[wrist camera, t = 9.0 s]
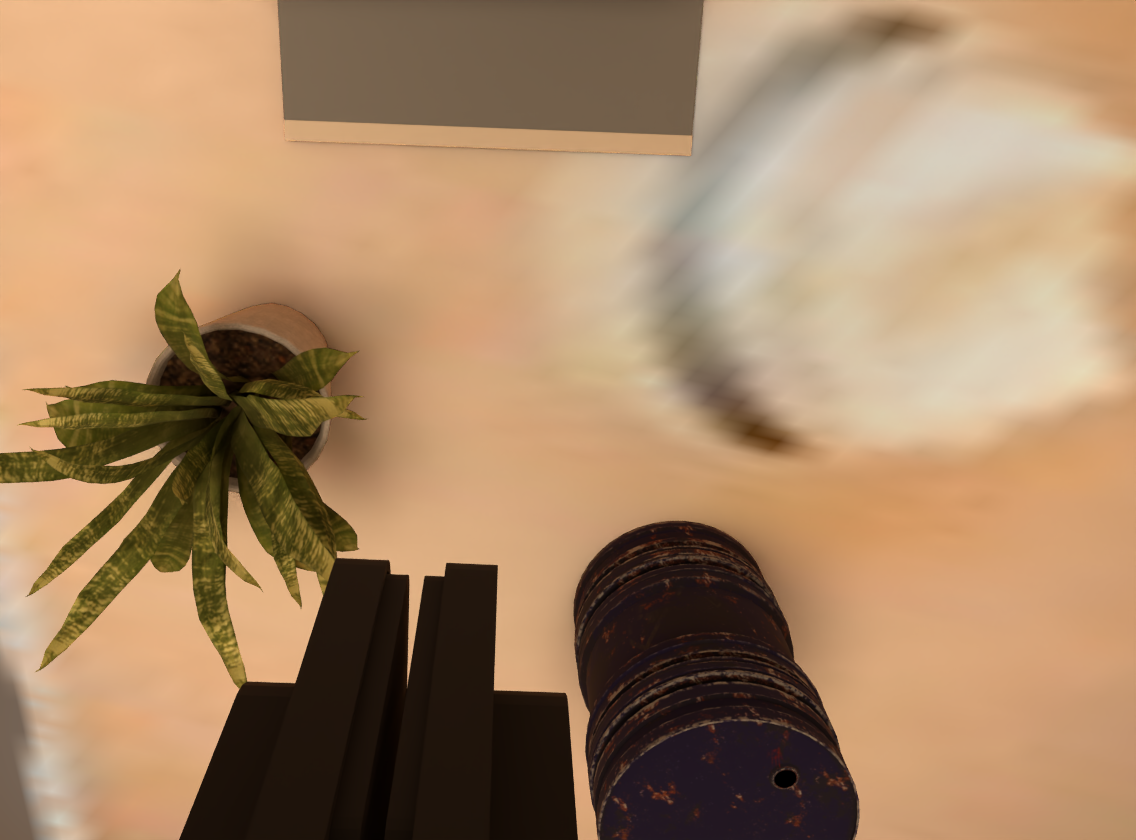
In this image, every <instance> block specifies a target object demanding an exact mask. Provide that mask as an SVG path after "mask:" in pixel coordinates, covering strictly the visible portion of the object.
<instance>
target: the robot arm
mask: <svg viewBox="0 0 1136 840" xmlns="http://www.w3.org/2000/svg"><path fill="white" fill-rule="evenodd" d="M497 573H498V565H481V564H459V563H446V569H445V577H441V576H425V578H424V584H423V590H422V597H421V603H420V609H419V616H418V622H417V629H416V635H415V641H414V648H413V654H412V661H411V667H410V673H409V680H408V686H407V665H408V622H409V575H395V574H390V562H389V560H368V559H345V558H337V559H335V561H334V564H333V567H332V570H331V573H330V576H329V580H328V583H327V586H326V589H325V592H324V595H323V598H322V601H321V605H320V608H319V611H318V614H317V617H316V620H315V623H314V627H313V630H312V633H311V636H310V639H309V642H308V645H307V649H306V652H305V655H304V658H303V661H302V664H301V667H300V671H299V674H298V677H297V680H296V683H270V682H245V683H244V684H243V685H242V686H241V688H240V690H239V691H238V693H237V695H236V698H235V700H234V703H233V705H232V708H231V711H230V713H229V716H228V718H227V721H226V723H225V726H224V728H223V731H222V733H221V736H220V738H219V741H218V743H217V746H216V748H215V751H214V753H213V756H212V758H211V761H210V763H209V766H208V768H207V771H206V774H205V776H204V779H203V781H202V784H201V786H200V789H199V791H198V794H197V796H196V799H195V801H194V804H193V806H192V809H191V811H190V814H189V816H188V819H187V821H186V824H185V826H184V829H183V831H182V834H181V836H180V839H179V840H578V835H577V821H576V808H575V794H574V780H573V766H572V752H571V739H570V725H569V711H568V701H567V695H566V693H551V692H523V691H495V690H494V666H495V635H496V604H497Z"/></svg>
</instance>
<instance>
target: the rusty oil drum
mask: <svg viewBox="0 0 1136 840" xmlns="http://www.w3.org/2000/svg"><path fill="white" fill-rule="evenodd" d="M574 622H575V644H574V645H575V654H576V662H577V669H578V677H579V685H580V689H581V692H582V695H583V698H584V701H585V704H586V707H587V709H588V710H589V712H590V718H589V722H588V727H587V734H586V748H585V753H586V760H587V766H588V777H589V787H590V794H591V800H592V805H593V808H594V811H595V815H596V826H597V835H598V840H855V837H856V834H857V829H858V823H859V799H858V795H857V791H856V786H855V784H854V781H853V779H852V777H851V775H850V772H849V770H848V768H847V766H846V764H845V762H844V759H843V757H842V754H841V752H840V747H839V743H838V739H837V736H836V734H835V731H834V729H833V727H832V725H831V722H830V720H829V718H828V716H827V714H826V711H825V709H824V707H823V704H822V701H821V699H820V696H819V694H818V692H817V690H816V688H815V686H814V685H813V684H812V682H811V681H810V679H809V678H808V677H807V675H806V674H805V673H804V672H803V670H802V669H801V668H800V667H799V666H798V665H797V664H796V663H795V661H794V654H793V645H792V641H791V637H790V632H789V628H788V624H787V622H786V620H785V618H784V615H783V613H782V611H781V610H780V608H779V606H778V603H777V601H776V599H775V597H774V595H773V592H772V590H771V589H770V587H769V586H768V584H767V583H766V582H765V580H764V578H763V576H762V573H761V571H760V569H759V567H758V565H757V563H756V561H755V560H754V559H753V557H752V556H751V554H750V553H749V552H748V551H747V550H746V549H745V548H744V547H743V546H742V545H741V544H740V543H739V542H738V541H737V540H735V539H734V538H732V537H731V536H729V535H728V534H726V533H724V532H722V531H720V530H718V529H716V528H713V527H710V526H707V525H703V524H700V523H694V522H687V521H666V522H659V523H653V524H649V525H646V526H642V527H639V528H636V529H634V530H632V531H629V532H627V533H625V534H623V535H621V536H620V537H618V538H617V539H615V540H613V541H612V542H610V543H609V544H608V545H607V546H606V547H605V548H603V549H602V550H601V551H600V552H599V553H598V554H597V555H596V556H595V558H594V559H593V560H592V561H591V562H590V563H589V565H588V567H587V568H586V570H585V571H584V573H583V575H582V577H581V579H580V582H579V584H578V587H577V590H576V595H575V599H574Z"/></svg>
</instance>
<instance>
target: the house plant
mask: <svg viewBox="0 0 1136 840" xmlns="http://www.w3.org/2000/svg"><path fill="white" fill-rule="evenodd" d="M179 274H180V270H179V271H178V273H177V274H176V276H175V277H174V278H173V279H172V280H171V281H170V282H169V283H168V284H167V285H166V286H165V287H164V288H163V290H162V291H161V292H160V293H159V294H158V295H157V299H156V304H155V317H156V322H157V325H158V327H159V330H160V332H161V334H162V335H163V337H164V339H165V340H166V342H167V343H168V346H167V347H166V348H165V350H164V351H163V352H162V353H161V354H160V355H159V356H158V358H157V359H156V360H155V363H154V365H153V367H152V369H151V372H150V374H149V376H148V378H147V383H146V384H141V383H134V382H127V381H114V380H111V381H103V382H97V383H93V384H90V385H86V386H80V387H74V388H70V387H67V386H66V388H36V389H24V390H30V391H34V392H37V393H40V394H43V395H49V396H58V397H66V398H69V400H64V401H61V402H59V403H56V404H51V405H47V403H46V405H47V410H48V414H49V416H50V418H48V419H43V420H38V421H33V422H26V423H22V424H19V425H28V426H34V427H54V430H55V433H56V435H57V438H58V440H59V441H60V442H61V443H62V444H63V445H64V446H65V447H66V448H62V449H54V450H44V451H36V450H33V449H32V448H31V450H32V451H33V452H16V453H0V483H20V482H41V481H54V480H61V479H67V478H72V479H75V480H79V481H83V482H87V483H99V484H107V483H117V482H121V481H125V480H129V479H132V478H134V477H135V478H134V479H133V480H132V481H131V482H130V484H129V485H128V486H127V487H126V489H125V490H124V491H123V492H122V493H121V494H120V495H119V496H118V497H117V498H116V499H115V500H114V501H113V502H112V503H111V504H109V505H108V506H107V507H106V508H105V509H104V510H103V511H102V512H101V513H100V514H99V515H98V516H97V517H95V518H94V519H93V520H92V521H91V522H90V523H89V524H88V525H86V526H85V527H84V528H83V529H82V530H81V531H80V532H79V533H78V534H76V535H75V536H74V537H73V538H72V539H71V540H70V541H69V542H68V543H67V544H65V545H64V546H63V547H62V549H61V550H60V551H59V553H58V554H57V556H56V557H55V558H54V560H53V561H52V562H51V564H50V565H49V567H48V568H47V570H46V571H45V572H44V573H43V574H42V575H41V576H40V577H39V578H38V579H37V580H36V582H35V583H34V584H33V587H32V589H31V591H30V593H29V595H31V594H33V593H35V592H36V591H38V590H39V589H41V588H42V587H44V586H45V585H47V584H48V583H50V582H51V581H52V580H53V579H55V578H56V577H57V576H58V575H60V574H61V573H62V572H64V571H65V570H66V569H67V568H68V567H69V566H71V565H72V564H73V563H74V562H75V561H76V560H77V559H79V558H80V557H81V556H82V555H83V554H84V553H85V552H86V551H87V550H88V549H89V548H90V547H91V546H92V545H94V544H95V543H96V542H97V541H98V540H99V539H100V538H101V537H103V536H104V535H105V534H106V533H107V532H108V531H109V530H110V529H111V528H112V527H114V526H115V525H116V524H117V523H118V522H119V521H120V520H121V519H122V517H123V516H124V515H125V514H126V513H127V511H128V510H129V509H130V508H131V507H132V505H133V504H134V503H135V502H136V501H137V500H138V499H139V497H140V496H141V495H142V494H143V493H144V492H145V491H146V490H147V489H148V488H149V486H150V485H151V484H152V483H153V482H154V481H155V480H156V478H157V477H158V476H159V475H160V474H161V473H162V472H163V470H164V469H165V468H166V467H167V466H168V464H169V463H170V462H172V463H173V464H174V465H175V466H177V467H176V468H175V470H174V471H173V472H172V473H171V475H170V476H169V478H168V479H167V481H166V482H165V484H164V485H163V487H162V488H161V490H160V491H159V493H158V494H157V496H156V498H155V500H154V501H153V503H152V505H151V507H150V508H149V510H148V512H147V514H146V515H145V516H144V517H143V519H142V520H141V521H140V522H139V524H138V525H137V526H136V527H135V528H134V529H133V530H132V532H131V533H130V534H129V535H128V536H127V537H126V538H125V539H124V540H123V542H122V543H121V545H120V547H119V548H118V549H117V551H116V552H115V553H114V554H113V555H112V556H111V557H110V559H109V560H108V561H107V562H106V563H105V564H104V565H103V567H102V568H101V569H100V570H99V571H98V572H97V573H96V575H95V576H94V577H93V578H92V579H91V580H90V582H89V583H88V584H87V585H86V586H85V587H84V589H83V590H82V591H81V592H80V593H79V595H78V597H77V599H76V601H75V603H74V605H73V606H72V608H71V610H70V612H69V614H68V616H67V618H66V620H65V622H64V624H63V626H62V628H61V630H60V631H59V632H58V634H57V635H56V636H55V638H54V639H53V640H52V642H51V643H50V645H49V646H48V648H47V649H46V651H45V654H44V657H43V661H42V664H41V666H40V669H39V670H41V669H43V668H44V667H46V666H47V665H48V664H49V663H50V662H51V661H53V660H54V659H55V658H56V657H57V656H58V655H60V654H61V653H62V652H63V651H65V650H66V649H67V648H68V647H69V646H70V645H71V644H72V643H73V642H74V641H75V640H76V639H77V638H78V637H79V636H80V635H81V634H82V633H83V632H84V631H85V630H86V629H87V628H88V627H89V626H90V625H91V624H92V623H93V622H94V621H95V619H96V618H97V617H98V616H99V615H100V614H101V613H102V612H103V611H104V610H105V608H106V607H107V606H108V605H109V604H110V603H111V602H112V601H113V599H114V598H115V597H116V596H117V595H118V594H119V593H120V592H121V590H122V589H123V588H124V587H125V586H126V585H127V584H128V583H129V582H130V581H131V580H132V579H133V578H134V577H135V576H136V575H137V574H138V573H139V571H140V570H141V569H142V568H143V567H144V566H145V564H146V563H147V562H148V561H149V560H151V562H152V564H153V565H154V567H155V568H156V569H157V570H158V571H160V572H164V573H165V572H174V571H180V570H181V569H182V568H183V567H184V566H185V565H186V563H187V562H188V560H189V557H190V554H191V550H192V576H193V591H194V596H195V601H196V606H197V611H198V616H199V620H200V621H201V623H202V625H203V627H204V629H205V631H206V632H207V634H208V636H209V638H210V640H211V641H212V643H213V645H214V646H215V648H216V649H217V651H218V652H219V654H220V655H221V657H222V659H223V662H224V664H225V666H226V668H227V670H228V672H229V674H230V676H231V678H232V680H233V682H234V683H235V684H236V686H237V687H238V688H239V689H240V688H241V686H242V685H243V684H244V683H245V682H247V678H246V673H245V668H244V665H243V661H242V658H241V655H240V652H239V648H238V644H237V640H236V636H235V633H234V629H233V625H232V622H231V618H230V614H229V610H228V605H227V600H226V588H225V577H226V566H228V567H229V568H230V569H231V570H232V571H233V572H234V573H235V574H236V575H237V576H239V577H240V578H241V579H242V580H244V581H245V582H248V583H250V584H252V585H255V586H257V587H259V588H260V589H261V587H260V586H259V584H258V583H257V582H256V580H255V579H254V578H253V577H252V576H251V575H250V574H249V573H248V572H247V570H246V569H245V568H244V567H243V566H242V564H241V563H240V562H239V561H238V560H237V558H236V557H235V556H234V555H233V554H232V553H231V552H230V551H229V549H228V548H227V516H228V491H232V492H237V493H239V494H240V497H241V500H242V503H243V507H244V510H245V513H246V515H247V517H248V520H249V522H250V524H251V527H252V529H253V531H254V533H255V535H256V537H257V539H258V541H259V542H260V544H261V545H262V546H263V548H264V549H265V551H266V552H267V553H269V554H270V555H271V556H273V557H274V560H275V562H276V564H277V567H278V569H279V571H280V573H281V575H282V576H283V578H284V580H285V582H286V585H287V588H288V590H289V592H290V594H291V596H292V597H293V598H294V599H295V600H296V602H297V603H298V604H299V605H300V606H301V607H302V603H301V597H300V591H299V584H298V579H297V573H296V568H300V569H304V570H307V571H314V572H316V573H317V577H318V580H319V583H320V587H321V590H322V593H323V595H324V592H325V589H326V586H327V583H328V580H329V576H330V573H331V570H332V567H333V564H334V561H335V559H337V552H336V551H341V552H344V551H355V550H358V549H359V548H357V535H356V533H355V531H354V530H353V528H352V527H351V526H350V525H349V524H348V523H347V522H346V520H344V519H343V518H342V517H341V516H340V515H339V514H337V513H336V512H335V511H334V510H332V509H331V508H330V507H328V506H327V505H326V504H325V503H324V502H322V499H321V497H320V495H319V493H318V491H317V489H316V487H315V485H314V483H313V481H312V479H311V477H310V476H309V474H308V472H307V469H308V468H309V467H310V466H311V465H312V464H313V463H314V462H315V461H316V460H317V459H318V457H319V455H320V453H321V451H322V449H323V447H324V446H325V444H326V442H327V439H328V434H329V429H330V423H331V419H332V418H334V417H342V418H350V419H357V420H365V419H364V418H362V417H361V416H359V415H358V414H356V413H355V412H353V411H351V410H348V409H346V408H347V406H348V405H349V404H350V402H351V401H352V400H353V399H354V398H355V397H363V396H355V395H342V396H334V397H331V380H332V379H333V378H334V376H335V375H336V374H337V372H338V371H339V370H340V369H341V367H342V366H343V365H344V364H345V363H346V362H347V361H348V360H349V358H350V357H352V356H353V355H355V354H356V353H357V352H359V351H356V352H350V353H346V352H342V351H338V350H334V349H330V348H328V346H327V344H326V341H325V338H324V336H323V335H322V334H321V332H320V331H319V329H318V328H317V327H316V325H315V324H314V323H313V322H312V321H310V320H309V319H308V318H307V317H306V316H304V315H303V314H302V313H300V312H298V311H296V310H294V309H292V308H290V307H287V306H283V305H278V304H274V303H270V304H262V305H256V306H252V307H249V308H246V309H242V310H240V311H237V312H235V313H232V314H230V315H227V316H225V317H222V318H220V319H217V320H215V321H212V322H210V323H207V324H205V325H202V326H200V327H198V325H197V322H196V320H195V318H194V316H193V314H192V312H191V309H190V308H189V306H188V304H187V302H186V300H185V299H184V297H183V294H182V291H181V287H180V284H179V280H178V278H179ZM157 445H158V446H159V447H160V448H161V450H160V451H159V452H158V453H157V454H156V455H155V456H154V457H153V458H150V459H147V460H144V461H141V462H137V463H134V464H128V465H122V466H104V465H106V464H109V463H112V462H115V461H118V460H121V459H124V458H127V457H130V456H132V455H135V454H137V453H140V452H143V451H145V450H148V449H150V448H152V447H155V446H157ZM261 590H262V589H261ZM262 592H263V591H262ZM29 595H27V596H29ZM27 596H26V597H27ZM39 670H37V671H39ZM37 671H36V672H37Z"/></svg>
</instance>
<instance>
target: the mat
mask: <svg viewBox="0 0 1136 840" xmlns="http://www.w3.org/2000/svg"><path fill="white" fill-rule="evenodd" d="M702 12H703V0H278V17H279V35H280V54H281V72H282V91H283V109H284V137H285V141H310V142H337V143H363V144H390V145H417V146H444V147H470V148H497V149H524V150H551V151H577V152H604V153H631V154H658V155H684V156H691V147H692V130H693V118H694V106H695V95H696V83H697V71H698V59H699V48H700V36H701V24H702Z"/></svg>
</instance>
